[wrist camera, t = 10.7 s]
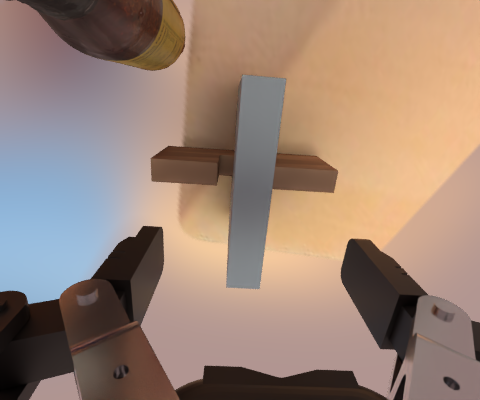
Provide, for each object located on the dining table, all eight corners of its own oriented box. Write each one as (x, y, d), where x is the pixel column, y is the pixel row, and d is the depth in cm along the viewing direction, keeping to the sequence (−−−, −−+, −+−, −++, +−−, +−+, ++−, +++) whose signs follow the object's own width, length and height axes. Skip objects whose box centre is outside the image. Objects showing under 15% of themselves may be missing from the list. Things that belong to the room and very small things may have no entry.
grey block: (238, 86, 27) (242, 74, 15) (262, 88, 27) (286, 78, 15) (229, 215, 32) (226, 287, 19) (249, 216, 32) (259, 289, 20)
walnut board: (168, 145, 29) (150, 158, 23) (316, 156, 29) (338, 171, 23) (168, 164, 29) (151, 181, 23) (313, 173, 30) (333, 192, 24)
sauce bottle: (108, 10, 24) (-295, -277, 6) (172, -16, 24) (-46, -426, 5) (140, 85, 27) (-78, 51, 8) (199, 63, 26) (113, -30, 7)
